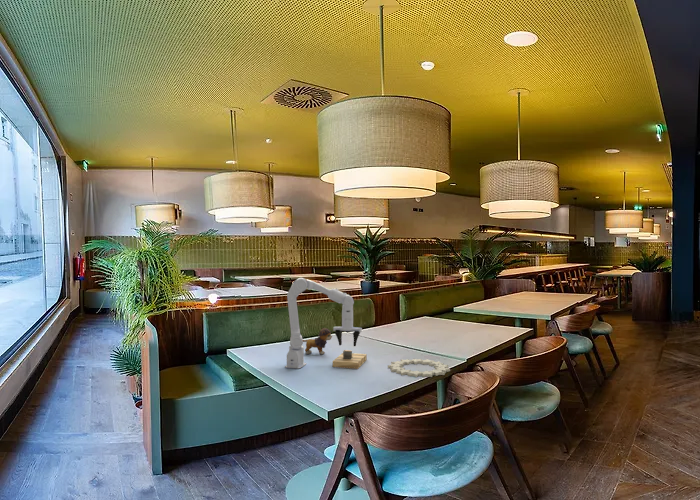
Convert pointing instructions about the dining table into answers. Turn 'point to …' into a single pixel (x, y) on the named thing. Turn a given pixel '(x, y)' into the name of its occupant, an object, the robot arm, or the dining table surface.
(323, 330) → the figurine
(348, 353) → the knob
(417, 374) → the decorative wreath
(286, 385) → the dining table surface
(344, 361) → the hub plate
